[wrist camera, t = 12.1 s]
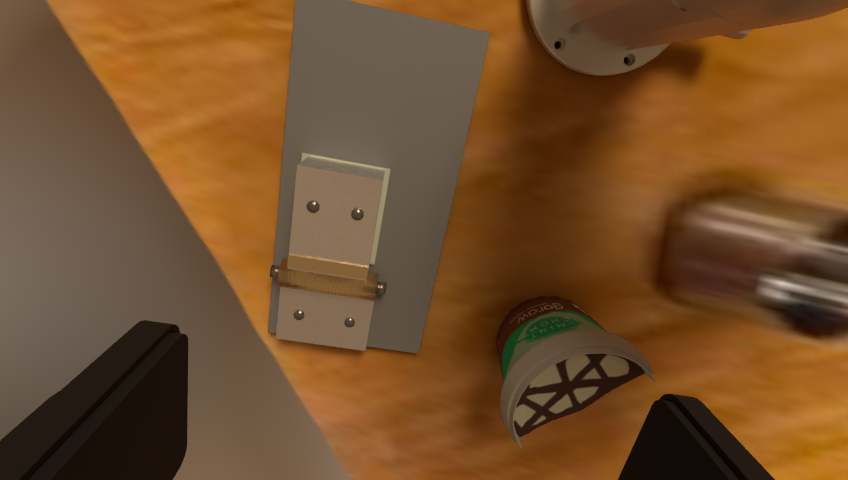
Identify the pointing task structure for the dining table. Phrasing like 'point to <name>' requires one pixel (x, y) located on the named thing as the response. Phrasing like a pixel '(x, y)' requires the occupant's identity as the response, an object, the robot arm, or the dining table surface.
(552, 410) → the food container
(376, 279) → the fixed leaf
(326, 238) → the tan studded block
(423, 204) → the board
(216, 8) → the dining table surface
